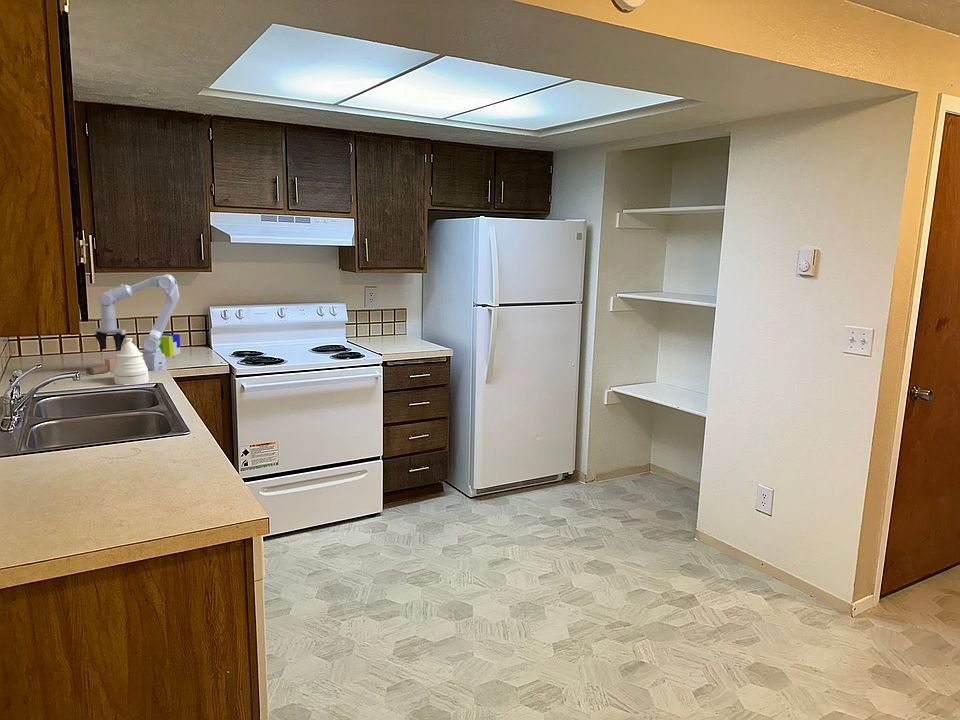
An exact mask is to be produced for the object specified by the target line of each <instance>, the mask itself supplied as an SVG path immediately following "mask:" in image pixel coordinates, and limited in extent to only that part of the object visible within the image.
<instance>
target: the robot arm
mask: <svg viewBox="0 0 960 720" xmlns="http://www.w3.org/2000/svg"><path fill="white" fill-rule="evenodd" d="M151 287H152V288H160V289H161V290H162V291H163V293H164V294H165V296H166V299H165V302H164V303H163V305H162V308H161V310H160V312H159V314H158V315H157V318H156V320H155V322H154V324H153V326H152V329H151V330H150V332H149V334H148V335H147V337H145V338H144V340H143V341H142V348H143V349H142V351H143V352H142V353H143V355H142V356H143V360H144V361H145V364H146V367H147V368H148V371H153V372H155V371H161V370H167V358H166V357H167V356H165V355H164V354H163V353H162V352H161V349H160V348H159V345H160V343H161V340H160V339H161V336H162V334H164V332H165V329H166V328H167V324H168V323H169V320H170V319H171V317H172V315H173V312H174V311H175V308H176V306H177V304H178V301H179V300H180V291H179V287H178V281H177V280H176V278H175V277H174V276H173V275H172V274H170V273H168V274H167V273H166V274H165V273H164V274H163V275H158V276H152V277H150V278H147V279H145V280H142V281H140V282H137V283H135V284H132V285H128V284H124V283H122V284H119V285H118V287H115V288H110V289H108V291H103V292H102V293H100V294H99V296H98V301H99V303H100V315H101V316H100V317H101V327H96V328H93V331H94V332H93V333H94V337H95V338H96V340H97V342H98V344H99V346H100V349H101V350H103V351H104V350H106V349H107V337H108V334H110V335H112V338H113V341H114V347H115V351H116V352H117V351H118V352H120V351H121V349H122V347H123V342H124V340H125V339H126V337H127V335H126V333H127V332H126V330H127V329H121V328H118V325H117V323H118V322H117V312H116V311H117V310H116V302H117V303H119V302H121V301H124V300H127V299H129V298H131V297H133V295H134V293H136V292H139V291H142V290H145V289H147V288H151Z"/></svg>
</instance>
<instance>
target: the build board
mask: <svg viewBox="0 0 960 720" xmlns="http://www.w3.org/2000/svg"><path fill="white" fill-rule="evenodd" d="M79 373H80V374H79V375H83V376H87V377H91V378H93V377H94V378H95V377H98V376H99V377H100V376H105V375H112V374H114V371H108V373H105V374H99V375H90V374H86V371H81V372H79Z"/></svg>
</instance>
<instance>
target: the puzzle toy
mask: <svg viewBox="0 0 960 720" xmlns="http://www.w3.org/2000/svg"><path fill="white" fill-rule="evenodd" d="M180 336H181V335H180V334H178V333H176V334H175V333H163V334H162V336H161V339H160V340H161V343H160V345H159V348H160V349H161V352H162V353H163V354H164V355H165V356H166V357H169V358H170V357H173V356H176V355H180V354H181V341H180V340H181V338H180Z"/></svg>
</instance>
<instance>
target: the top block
mask: <svg viewBox="0 0 960 720" xmlns="http://www.w3.org/2000/svg"><path fill="white" fill-rule="evenodd" d="M117 358H118V357H110V358H109V357H107V358H104V366H107V370H108V371H114V369H115V365H116V362H117Z"/></svg>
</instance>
